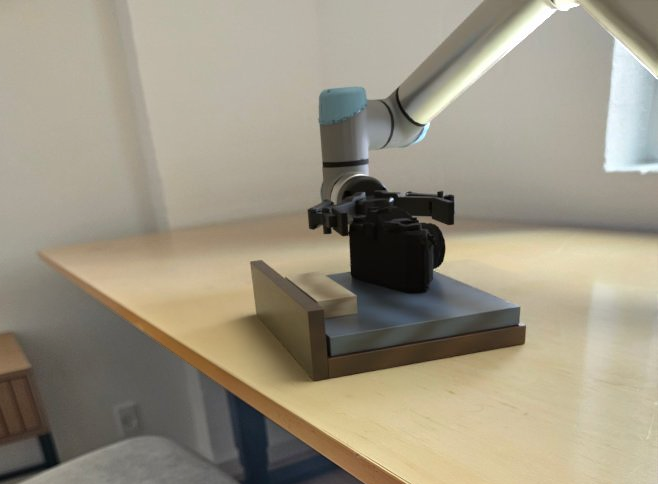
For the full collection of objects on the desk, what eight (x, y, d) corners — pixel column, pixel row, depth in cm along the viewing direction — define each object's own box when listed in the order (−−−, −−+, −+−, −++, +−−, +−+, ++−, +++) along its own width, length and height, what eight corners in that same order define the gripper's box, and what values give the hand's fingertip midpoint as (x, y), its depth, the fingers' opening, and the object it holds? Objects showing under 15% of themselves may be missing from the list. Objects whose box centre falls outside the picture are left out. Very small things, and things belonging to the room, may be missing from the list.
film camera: (474, 282, 79) (476, 203, 75) (409, 297, 75) (408, 214, 71) (400, 264, 91) (399, 195, 87) (340, 276, 87) (336, 205, 83)
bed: (416, 289, 94) (416, 239, 91) (525, 343, 70) (529, 277, 67) (256, 313, 89) (249, 261, 86) (313, 381, 65) (307, 311, 61)
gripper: (438, 219, 103) (493, 240, 84) (281, 235, 100) (301, 260, 81) (438, 167, 100) (495, 177, 81) (276, 182, 96) (296, 196, 78)
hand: (398, 219), depth 81 cm, fingers open, 13 cm apart
